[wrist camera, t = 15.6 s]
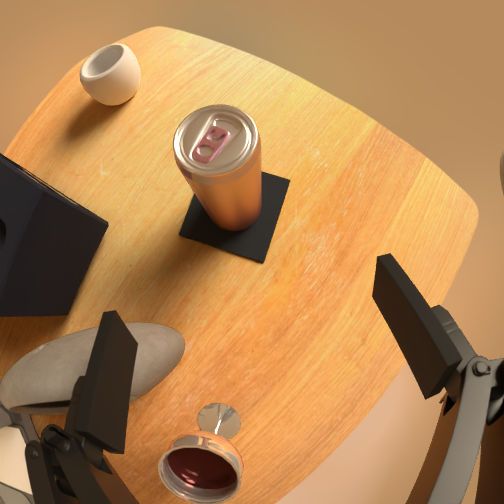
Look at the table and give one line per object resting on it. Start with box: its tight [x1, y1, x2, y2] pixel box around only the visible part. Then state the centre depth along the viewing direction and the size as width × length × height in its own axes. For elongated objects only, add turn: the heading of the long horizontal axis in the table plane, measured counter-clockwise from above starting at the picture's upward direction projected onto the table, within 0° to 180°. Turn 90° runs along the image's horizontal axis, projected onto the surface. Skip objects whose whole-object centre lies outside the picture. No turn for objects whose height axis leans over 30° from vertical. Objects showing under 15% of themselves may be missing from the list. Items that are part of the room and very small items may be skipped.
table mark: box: [179, 172, 290, 263], centre depth 33 cm, size 10×10×1 cm
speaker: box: [0, 153, 109, 317], centre depth 26 cm, size 22×13×15 cm, turn 62°
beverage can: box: [173, 105, 262, 231], centre depth 25 cm, size 6×6×15 cm
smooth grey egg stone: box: [0, 322, 185, 415], centre depth 21 cm, size 18×7×19 cm, turn 111°
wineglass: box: [158, 403, 244, 504], centre depth 23 cm, size 7×7×12 cm
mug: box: [80, 44, 141, 106], centre depth 33 cm, size 12×8×8 cm
